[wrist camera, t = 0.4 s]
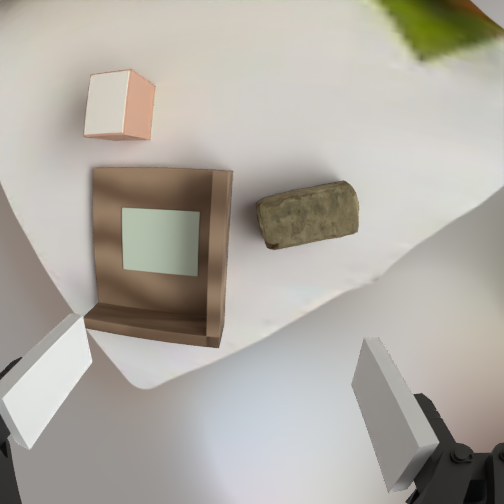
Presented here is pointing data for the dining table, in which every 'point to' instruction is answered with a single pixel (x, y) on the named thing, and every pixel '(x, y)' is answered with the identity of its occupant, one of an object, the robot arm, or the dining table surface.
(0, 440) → the robot arm
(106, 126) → the terracotta block
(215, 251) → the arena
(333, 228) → the stone block
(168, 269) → the sage pad
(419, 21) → the dining table surface
